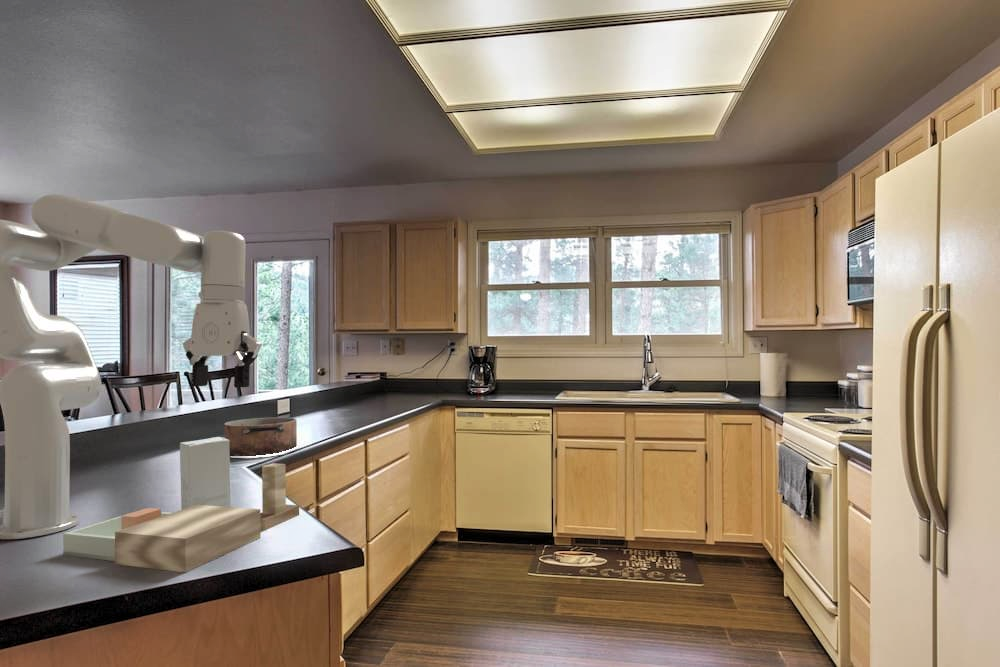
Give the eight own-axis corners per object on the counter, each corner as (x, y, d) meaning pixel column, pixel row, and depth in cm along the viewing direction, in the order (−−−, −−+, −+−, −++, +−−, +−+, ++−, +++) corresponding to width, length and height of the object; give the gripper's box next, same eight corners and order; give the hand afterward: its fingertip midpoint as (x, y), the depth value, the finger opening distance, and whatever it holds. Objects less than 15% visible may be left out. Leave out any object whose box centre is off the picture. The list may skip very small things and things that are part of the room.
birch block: (114, 564, 87) (115, 531, 87) (197, 531, 102) (197, 504, 102) (185, 572, 83) (185, 538, 83) (260, 537, 98) (260, 509, 98)
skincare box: (220, 504, 122) (220, 436, 122) (231, 508, 117) (231, 438, 118) (178, 512, 115) (178, 441, 116) (188, 518, 111) (188, 443, 112)
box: (63, 555, 91) (63, 533, 91) (140, 528, 105) (140, 510, 105) (118, 561, 88) (118, 539, 88) (190, 533, 101) (190, 514, 101)
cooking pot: (303, 456, 178) (303, 423, 179) (226, 464, 167) (226, 428, 168) (290, 444, 204) (289, 415, 205) (222, 450, 194) (222, 419, 194)
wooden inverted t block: (247, 529, 103) (247, 470, 104) (282, 514, 113) (282, 459, 113) (265, 530, 102) (264, 471, 103) (299, 515, 112) (298, 460, 112)
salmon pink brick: (134, 547, 93) (121, 545, 93) (160, 537, 97) (147, 536, 98) (135, 517, 93) (121, 516, 94) (161, 508, 98) (147, 507, 98)
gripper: (170, 295, 104) (167, 386, 104) (246, 293, 99) (243, 389, 99) (201, 299, 112) (199, 384, 111) (274, 297, 107) (272, 386, 106)
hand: (220, 386), depth 105 cm, fingers open, 9 cm apart
